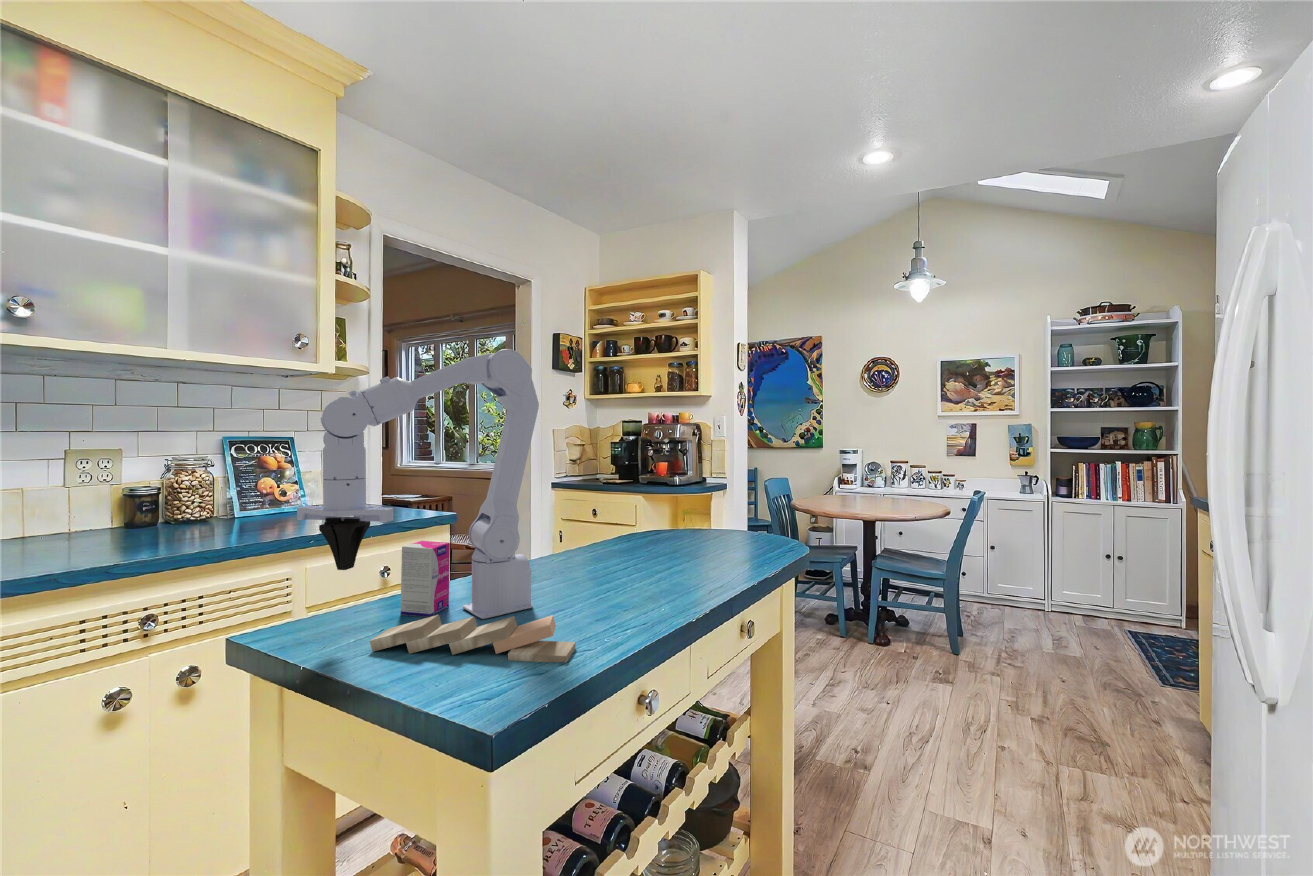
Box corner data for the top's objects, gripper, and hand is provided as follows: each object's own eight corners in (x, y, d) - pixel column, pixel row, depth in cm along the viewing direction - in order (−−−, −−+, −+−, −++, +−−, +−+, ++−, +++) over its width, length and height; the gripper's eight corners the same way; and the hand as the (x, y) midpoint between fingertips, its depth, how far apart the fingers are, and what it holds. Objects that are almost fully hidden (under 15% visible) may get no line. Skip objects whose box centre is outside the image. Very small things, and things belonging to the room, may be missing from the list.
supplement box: (431, 617, 95) (431, 548, 95) (399, 615, 96) (399, 546, 96) (450, 607, 101) (450, 541, 101) (420, 604, 102) (419, 539, 102)
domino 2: (426, 640, 85) (477, 627, 84) (409, 654, 80) (462, 639, 79) (423, 630, 85) (474, 616, 84) (405, 642, 80) (459, 628, 80)
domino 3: (464, 642, 84) (517, 626, 84) (452, 655, 79) (508, 638, 79) (461, 631, 84) (514, 615, 84) (448, 643, 80) (504, 627, 79)
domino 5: (520, 650, 83) (575, 653, 82) (507, 665, 78) (565, 668, 77) (520, 639, 83) (575, 642, 82) (507, 653, 78) (565, 656, 77)
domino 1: (392, 638, 86) (441, 625, 85) (372, 651, 81) (425, 637, 80) (389, 628, 86) (438, 614, 85) (369, 640, 81) (421, 626, 80)
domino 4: (502, 642, 84) (555, 625, 85) (496, 654, 79) (553, 636, 80) (499, 632, 84) (552, 615, 85) (492, 642, 79) (549, 624, 80)
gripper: (280, 480, 84) (281, 573, 85) (372, 481, 82) (373, 577, 83) (315, 476, 91) (316, 562, 92) (401, 477, 89) (401, 565, 90)
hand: (345, 568), depth 88 cm, fingers closed
